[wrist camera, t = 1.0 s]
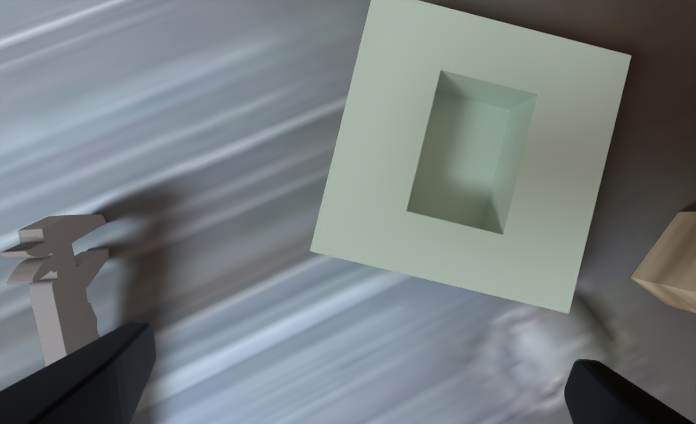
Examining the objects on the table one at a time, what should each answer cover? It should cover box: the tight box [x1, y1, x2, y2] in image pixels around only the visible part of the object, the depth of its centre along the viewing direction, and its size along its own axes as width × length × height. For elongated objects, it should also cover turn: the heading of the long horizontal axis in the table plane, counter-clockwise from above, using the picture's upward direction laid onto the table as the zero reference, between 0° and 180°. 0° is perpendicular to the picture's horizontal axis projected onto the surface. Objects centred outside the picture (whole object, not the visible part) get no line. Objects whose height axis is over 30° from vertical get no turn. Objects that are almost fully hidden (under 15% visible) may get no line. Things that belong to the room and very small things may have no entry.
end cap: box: [310, 0, 631, 314], centre depth 21 cm, size 12×12×4 cm
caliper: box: [1, 214, 109, 366], centre depth 20 cm, size 20×1×6 cm, turn 4°
